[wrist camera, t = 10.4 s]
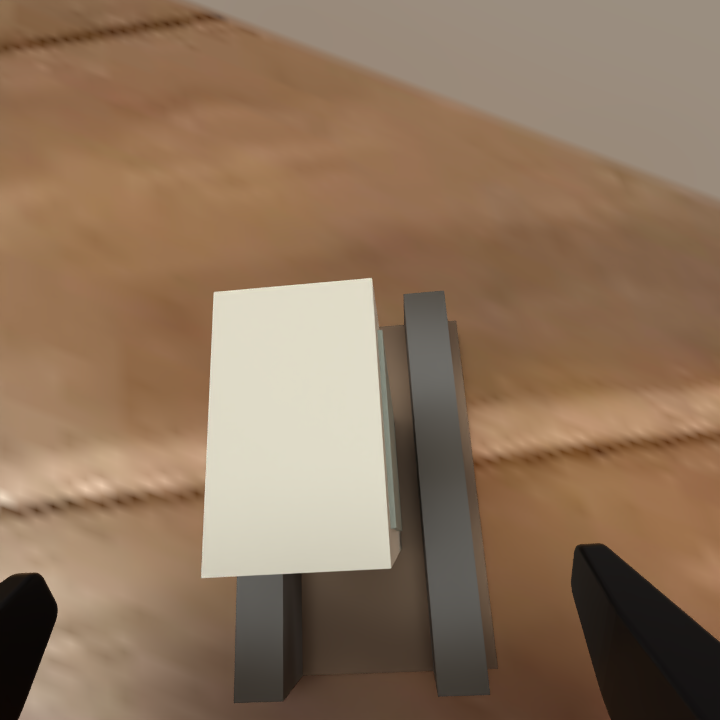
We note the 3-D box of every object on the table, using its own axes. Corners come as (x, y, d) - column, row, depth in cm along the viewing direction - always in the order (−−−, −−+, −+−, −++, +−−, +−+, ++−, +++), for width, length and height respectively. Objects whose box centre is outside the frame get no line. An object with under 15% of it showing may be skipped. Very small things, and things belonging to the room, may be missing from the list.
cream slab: (404, 548, 19) (397, 568, 8) (319, 552, 19) (195, 578, 8) (394, 416, 21) (377, 277, 10) (316, 422, 21) (208, 292, 10)
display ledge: (491, 658, 19) (514, 693, 15) (253, 667, 20) (211, 703, 16) (453, 333, 23) (462, 289, 19) (258, 349, 24) (225, 309, 20)
